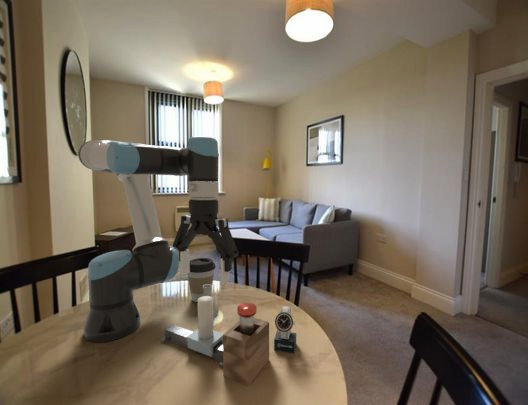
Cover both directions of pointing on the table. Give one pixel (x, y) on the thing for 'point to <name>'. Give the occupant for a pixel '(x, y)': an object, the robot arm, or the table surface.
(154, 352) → the table surface
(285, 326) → the watch
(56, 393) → the table surface
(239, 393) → the table surface
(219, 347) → the rail
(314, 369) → the table surface
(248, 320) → the button plunger
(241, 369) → the wooden button housing
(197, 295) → the coffee cup
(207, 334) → the carriage
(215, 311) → the flask
